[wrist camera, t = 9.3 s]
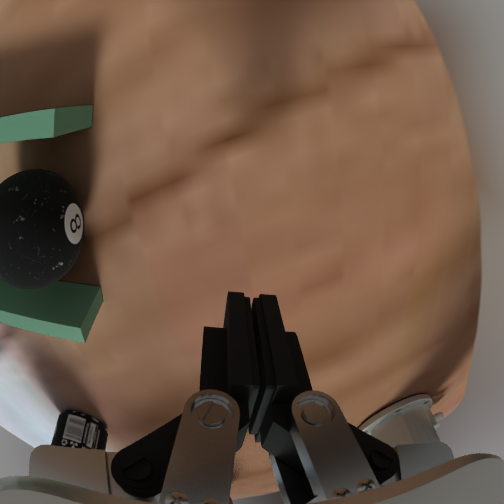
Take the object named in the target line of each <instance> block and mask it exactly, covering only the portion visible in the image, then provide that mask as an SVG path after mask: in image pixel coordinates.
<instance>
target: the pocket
mask: <svg viewBox="0 0 504 504" xmlns="http://www.w3.org/2000/svg"><path fill="white" fill-rule="evenodd" d="M92 115H93V105H85V106H73V107H63V108H54V109H46V110H39V111H32V112H26V113H20V114H14V115H9V116H4V117H0V143H5V142H13V141H21V140H30V139H41V138H53V137H57V136H60V135H63V134H67V133H71V132H74V131H78V130H82V129H86V128H90V127H92ZM102 302H103V297H102V292H101V287H100V286H93V285H85V284H77V283H70V282H63V281H56V282H55V283H53V284H51V285H49V286H46V287H43V288H39V289H32V290H28V289H21V288H17V287H15V286H12V285H10V284H9V283H7V282H5V281H4V280H3V279H2V278H0V323H4V324H7V325H10V326H14V327H18V328H21V329H25V330H29V331H33V332H37V333H41V334H45V335H49V336H54V337H58V338H63V339H67V340H72V341H77V342H83V343H85V342H86V339H87V337H88V334H89V332H90V330H91V327H92V325H93V323H94V320H95V318H96V316H97V313H98V311H99V309H100V307H101V305H102Z"/></svg>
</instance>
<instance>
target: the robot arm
mask: <svg viewBox="0 0 504 504" xmlns="http://www.w3.org/2000/svg"><path fill="white" fill-rule="evenodd" d="M432 403H433V401H432V399H431V397H430V396H429V395H428V394H419V395H415V396H412V397H409V398H406V399H404V400H401V401H399V402H397V403H395V404H393V405H391V406H389V407H387V408H385V409H384V410H382V411H380V412H379V413H377V414H375V415H374V416H372V417H371V418H370V419H368V420H367V421H366V422H364V423H363V424H362V425H361V426H360V427H359V428H357V427H355V426H353V425H351V424H350V423H348V422H347V420H346V418H345V417H344V415H343V413H342V411H341V409H340V407H339V405H338V404H337V402H336V401H335V399H333V398H332V397H331V396H329V395H328V394H325V393H323V392H319V391H313V390H312V386H311V383H310V379H309V376H308V372H307V369H306V365H305V362H304V358H303V355H302V351H301V348H300V344H299V341H298V337H297V335H296V333H295V332H285V329H284V325H283V321H282V317H281V313H280V309H279V305H278V301H277V297H276V295H265V294H260V295H259V298H254V299H253V303H252V308H251V304H250V298H249V297H244V293H240V292H229V291H228V295H227V303H226V311H225V319H224V327H223V328H215V327H204V332H203V345H202V359H201V375H200V391H199V392H196V393H194V394H193V395H192V396H191V397H190V398H188V400H187V402H186V404H185V407H184V410H183V413H182V414H181V415H179V416H178V417H176V418H175V419H173V420H171V421H170V422H168V423H167V424H165V425H163V426H162V427H160V428H158V429H157V430H155V431H153V432H152V433H150V434H148V435H147V436H145V437H143V438H142V439H140V440H138V441H136V442H135V443H133V444H131V445H129V446H128V447H126V448H124V449H122V450H121V451H119V452H106V451H105V450H99V449H82V448H71V447H62V446H54V445H40V446H38V447H36V448H35V449H34V450H33V451H32V453H31V456H30V463H29V476H9V477H4V478H1V479H0V504H229V498H230V490H231V482H232V475H233V467H234V459H235V452H237V451H238V450H239V449H240V448H241V447H242V444H243V441H244V438H245V435H246V432H247V429H248V428H249V434H255V442H261V446H262V448H264V449H265V450H266V451H268V453H269V459H270V462H271V465H272V468H273V471H274V474H275V477H276V480H277V484H278V487H279V490H280V492H281V495H282V498H283V501H284V504H504V461H503V460H502V459H501V458H500V457H498V456H496V455H493V454H485V453H476V454H469V455H465V456H462V457H458V458H455V459H454V456H453V453H452V450H451V448H450V447H449V446H448V445H447V444H445V443H443V442H441V441H440V439H439V437H438V435H437V433H436V430H435V428H437V427H439V426H440V420H442V419H443V416H444V415H443V413H442V412H439V413H436V414H434V415H433V414H432V412H431V410H430V408H431V406H432Z"/></svg>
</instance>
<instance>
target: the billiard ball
mask: <svg viewBox="0 0 504 504" xmlns="http://www.w3.org/2000/svg"><path fill="white" fill-rule="evenodd" d="M83 238H84V216H83V211H82V207H81V204H80V201H79V199H78V196H77V195H76V193H75V191H74V189H73V188H72V187H71V185H70V184H69V183H68V182H67V181H66V180H65V179H64V178H62V177H61V176H59V175H58V174H56V173H54V172H51V171H47V170H41V169H32V170H26V171H22V172H19V173H16V174H14V175H12V176H10V177H9V178H7V179H6V180H4V181H3V182H2V183H1V184H0V278H2V279H3V280H4V281H5V282H7V283H9V284H10V285H12V286H15V287H17V288H21V289H28V290H32V289H39V288H43V287H46V286H49V285H51V284H53V283H55V282H56V281H58V280H59V279H61V278H62V277H63V276H64V275H66V274H67V273H68V271H69V270H70V269H71V268H72V267H73V265H74V264H75V262H76V260H77V258H78V256H79V254H80V251H81V248H82V243H83Z"/></svg>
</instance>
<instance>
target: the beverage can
mask: <svg viewBox="0 0 504 504" xmlns="http://www.w3.org/2000/svg"><path fill="white" fill-rule="evenodd" d="M107 437H108V433H107V431H106V430H105V428H104V426H103V424H102V423H100V422H99V421H98V420H96V419H95V418H93V417H91V416H89V415H87V414H84V413H81V412H78V411H73V410H68V411H65V412H64V413H61V414H60V415H59V418H58V421H57V425H56V428H55V432H54V436H53V440H52V444H51V445H54V446H62V447H71V448H82V449H99V450H105V449H106V442H107Z"/></svg>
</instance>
